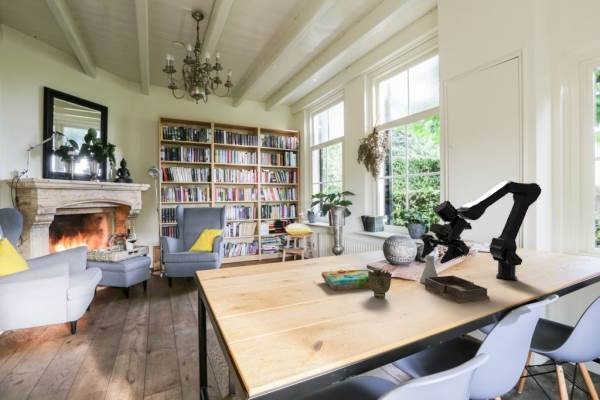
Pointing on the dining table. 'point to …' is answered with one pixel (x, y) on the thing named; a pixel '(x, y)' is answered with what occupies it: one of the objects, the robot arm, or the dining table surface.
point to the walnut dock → (456, 289)
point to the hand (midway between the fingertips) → (431, 260)
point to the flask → (429, 269)
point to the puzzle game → (347, 279)
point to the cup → (379, 282)
